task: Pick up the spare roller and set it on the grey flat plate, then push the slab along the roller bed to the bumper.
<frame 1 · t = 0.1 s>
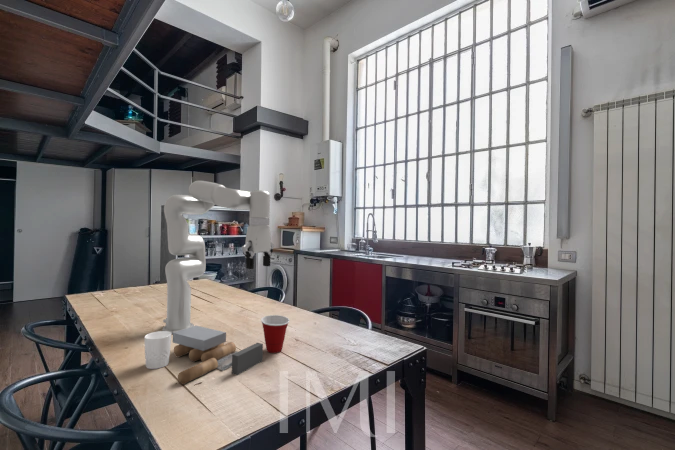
hand: (258, 267, 123), 31 cm above the table, tool pointing down, fingers open, 9 cm apart
plastic cup: (274, 350, 122), on the table
spare roller: (198, 376, 101), on the table
grey flat plate: (229, 361, 111), on the table
bumper: (247, 367, 107), on the table
roller bed: (199, 353, 118), on the table
white cup: (157, 365, 107), on the table
slab: (199, 337, 118), point 6 cm above the table, slide at 0.0 cm
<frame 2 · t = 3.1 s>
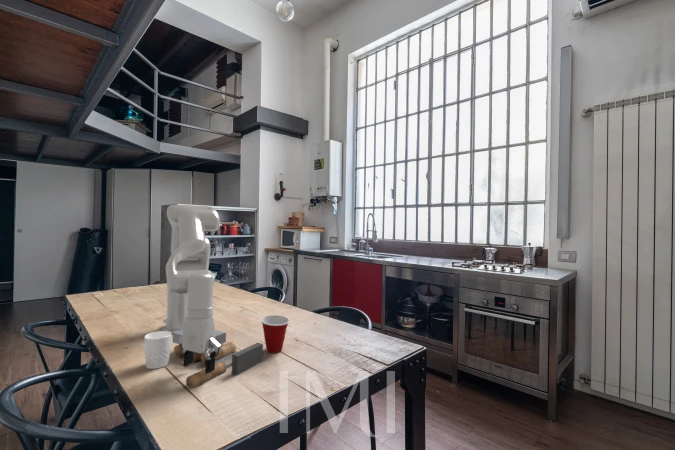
hand: (198, 368, 100), 2 cm above the table, tool pointing down, fingers open, 9 cm apart
spare roller: (206, 368, 99), point 3 cm above the table, tilted 164°
everything else where it was.
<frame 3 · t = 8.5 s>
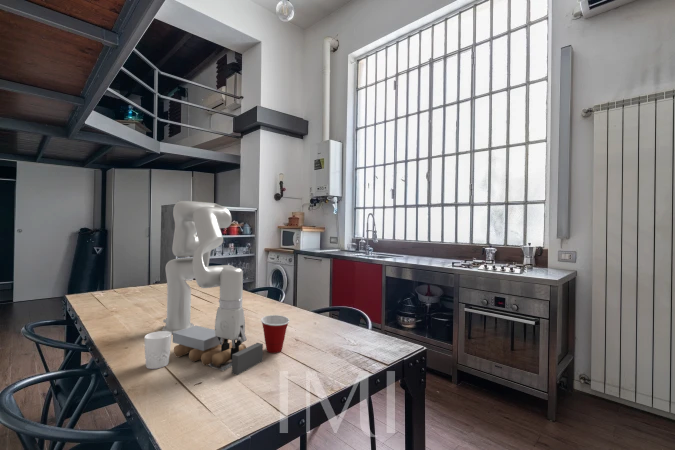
hand: (229, 356, 111), 2 cm above the table, tool pointing down, fingers closed on spare roller, 3 cm apart
spare roller: (226, 351, 112), point 3 cm above the table, tilted 105°, touching gripper
everything else where it was.
when the fingers open (2 cm above the table, at t = 8.7 s): spare roller drops 1 cm and tips over, resting on grey flat plate.
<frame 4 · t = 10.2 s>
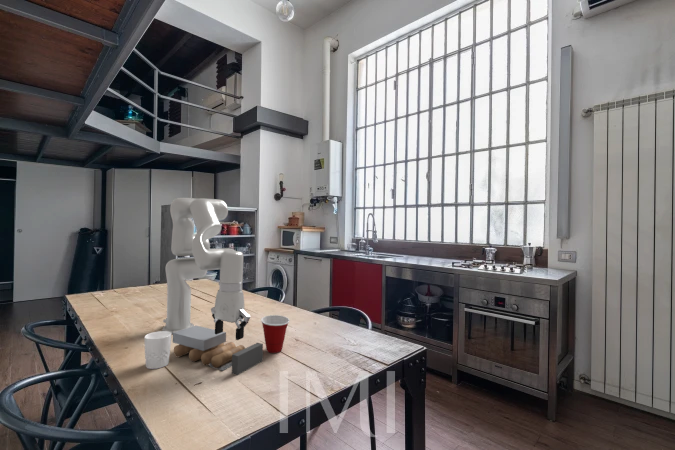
hand: (229, 335, 111), 9 cm above the table, tool pointing down, fingers open, 9 cm apart
spare roller: (225, 354, 112), point 2 cm above the table, tilted 89°, touching grey flat plate
everything else where it was.
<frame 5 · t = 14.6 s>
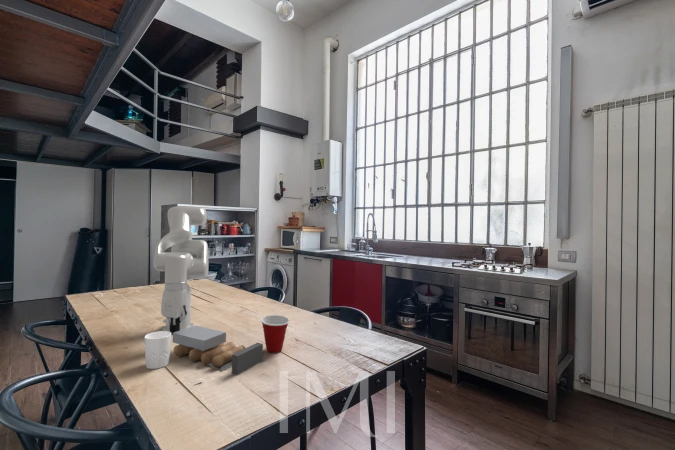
hand: (174, 334, 124), 5 cm above the table, tool pointing down, fingers closed
spare roller: (226, 353, 111), point 2 cm above the table, tilted 102°, touching grey flat plate
everything else where it was.
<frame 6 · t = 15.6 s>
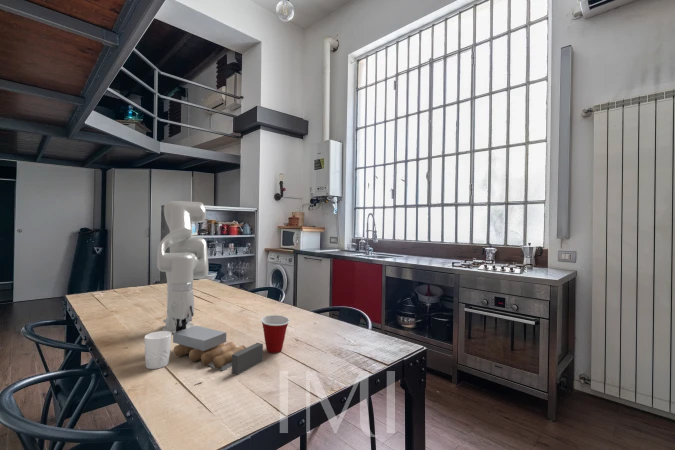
hand: (180, 335, 122), 5 cm above the table, tool pointing down, fingers closed
spare roller: (227, 353, 111), point 3 cm above the table, tilted 116°, touching grey flat plate
slab: (199, 337, 117), point 6 cm above the table, slide at 0.2 cm, touching gripper
everything else where it was.
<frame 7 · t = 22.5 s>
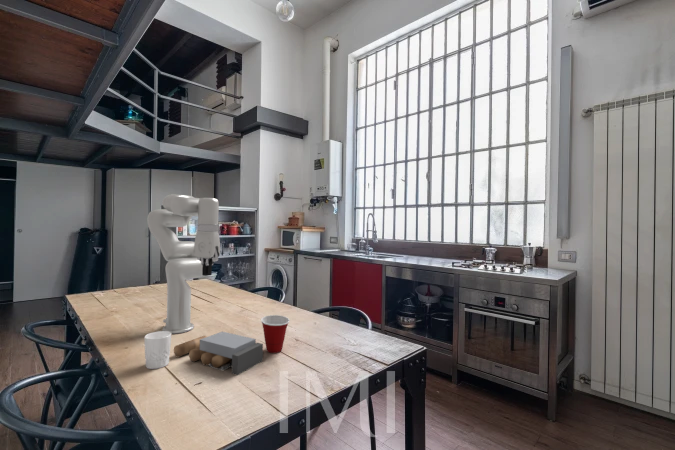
hand: (207, 275, 127), 27 cm above the table, tool pointing down, fingers closed
spare roller: (225, 354, 112), point 2 cm above the table, tilted 95°, touching grey flat plate
slab: (227, 344, 111), point 6 cm above the table, slide at 14.0 cm, touching bumper
everything else where it was.
at the end: slab slide at 14.0 cm; spare roller inside the target area (1.9 cm from its centre), point 2.2 cm above the table; the gripper is holding nothing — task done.
